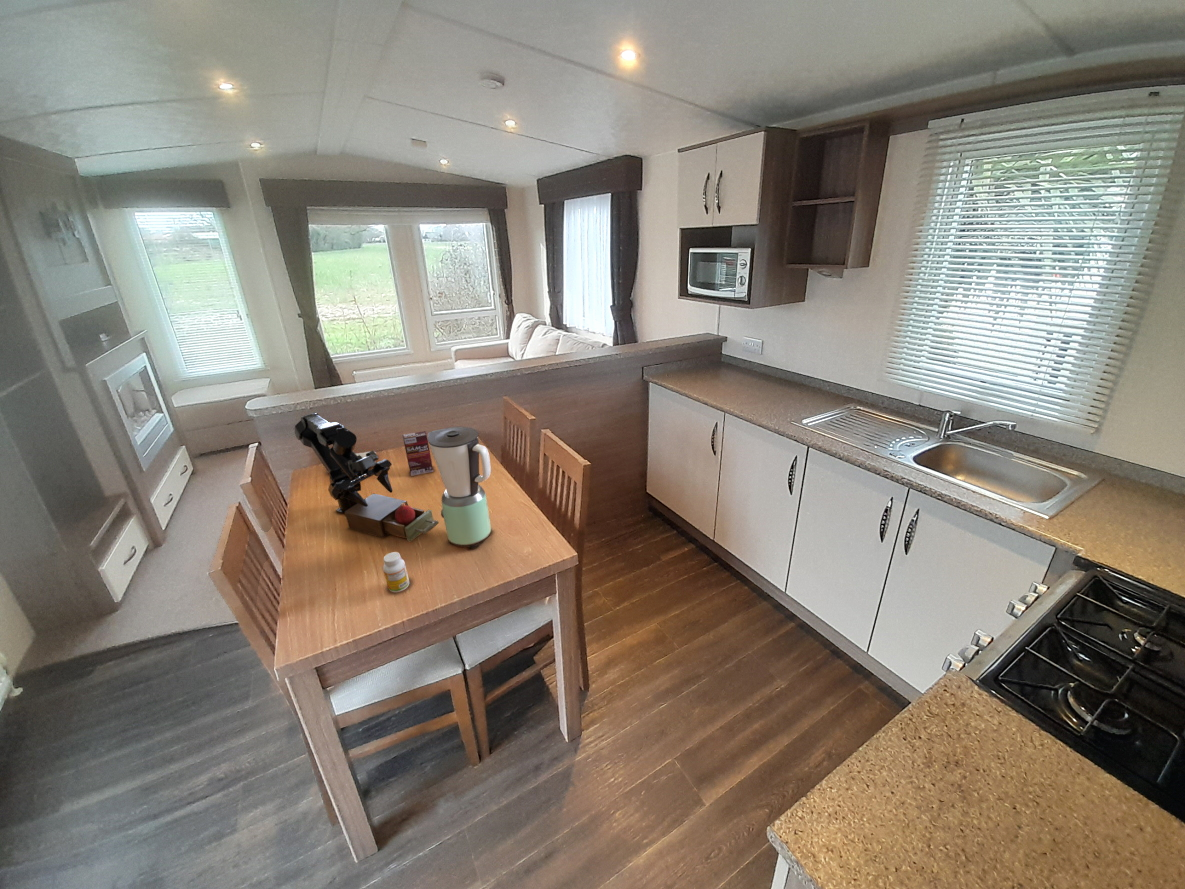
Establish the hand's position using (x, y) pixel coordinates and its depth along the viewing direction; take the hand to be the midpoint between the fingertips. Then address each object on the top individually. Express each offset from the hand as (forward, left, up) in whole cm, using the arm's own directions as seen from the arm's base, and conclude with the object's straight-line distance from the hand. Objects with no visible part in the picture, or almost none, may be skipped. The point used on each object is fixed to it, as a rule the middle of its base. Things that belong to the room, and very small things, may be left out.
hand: (379, 498), depth 148 cm
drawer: (+9, +1, -10) cm, 13 cm away
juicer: (+29, +5, -11) cm, 32 cm away
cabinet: (-4, +1, -11) cm, 11 cm away
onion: (+8, +1, -9) cm, 12 cm away
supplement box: (-15, +34, -11) cm, 39 cm away
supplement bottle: (+24, -20, -11) cm, 33 cm away
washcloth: (-46, +29, -11) cm, 56 cm away
